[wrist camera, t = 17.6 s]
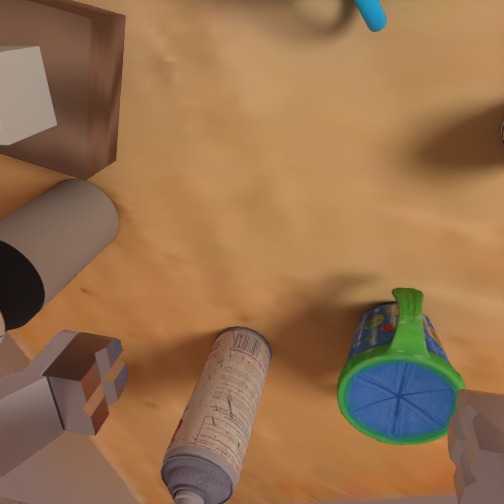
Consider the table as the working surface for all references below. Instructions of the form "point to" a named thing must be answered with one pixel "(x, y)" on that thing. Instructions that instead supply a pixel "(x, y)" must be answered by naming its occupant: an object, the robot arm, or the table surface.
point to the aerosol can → (218, 420)
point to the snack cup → (398, 375)
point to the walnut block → (71, 81)
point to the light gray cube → (23, 94)
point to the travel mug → (50, 246)
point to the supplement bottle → (502, 134)
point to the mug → (372, 14)
